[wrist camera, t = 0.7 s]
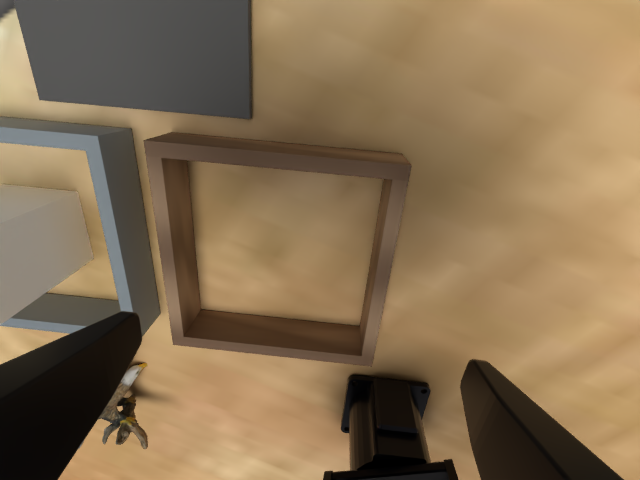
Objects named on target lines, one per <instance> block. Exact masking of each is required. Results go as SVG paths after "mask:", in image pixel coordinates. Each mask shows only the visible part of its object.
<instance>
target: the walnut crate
mask: <svg viewBox="0 0 640 480" xmlns="http://www.w3.org/2000/svg"><path fill="white" fill-rule="evenodd" d="M144 146H145V153H146V160H147V167H148V174H149V181H150V188H151V195H152V201H153V208H154V215H155V222H156V229H157V236H158V243H159V250H160V257H161V264H162V271H163V278H164V285H165V292H166V299H167V306H168V312H169V319H170V326H171V333H172V340H173V345H180V346H189V347H198V348H207V349H216V350H226V351H235V352H244V353H253V354H262V355H271V356H280V357H290V358H299V359H308V360H317V361H326V362H335V363H344V364H354V365H363V366H372V363H373V358H374V353H375V348H376V343H377V338H378V333H379V328H380V323H381V318H382V313H383V308H384V303H385V297H386V292H387V287H388V282H389V277H390V272H391V267H392V262H393V257H394V252H395V247H396V242H397V237H398V232H399V227H400V222H401V217H402V211H403V206H404V201H405V196H406V191H407V186H408V181H409V176H410V171H411V166H412V165H411V164H410V163H409V162H408V160H407V159H406V158H405V157H404V155H403V154H399V153H388V152H377V151H367V150H356V149H345V148H334V147H324V146H313V145H302V144H291V143H281V142H270V141H259V140H248V139H237V138H227V137H216V136H205V135H194V134H184V133H173V132H171V133H167V134H164V135H161V136H157V137H154V138H150V139H147V140H144ZM187 160H190V161H201V162H212V163H222V164H233V165H243V166H254V167H264V168H275V169H285V170H296V171H306V172H317V173H327V174H338V175H349V176H359V177H370V178H380V179H384V182H383V188H382V194H381V200H380V207H379V213H378V219H377V225H376V231H375V237H374V243H373V249H372V255H371V261H370V267H369V273H368V279H367V285H366V291H365V298H364V304H363V310H362V316H361V322H360V326H351V325H341V324H332V323H322V322H313V321H304V320H294V319H285V318H275V317H266V316H257V315H247V314H238V313H228V312H219V311H210V310H201V306H200V295H199V285H198V274H197V263H196V252H195V241H194V230H193V220H192V209H191V198H190V187H189V176H188V165H187Z"/></svg>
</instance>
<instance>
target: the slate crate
mask: <svg viewBox="0 0 640 480" xmlns="http://www.w3.org/2000/svg"><path fill="white" fill-rule="evenodd" d="M0 142H1V143H11V144H22V145H32V146H43V147H53V148H64V149H74V150H85V151H86V154H87V159H88V163H89V168H90V172H91V177H92V181H93V186H94V190H95V195H96V200H97V204H98V209H99V213H100V218H101V222H102V227H103V231H104V236H105V241H106V245H107V250H108V254H109V259H110V263H111V268H112V272H113V277H114V282H115V286H116V291H117V295H118V300H119V301H116V300H106V299H97V298H87V297H78V296H69V295H59V294H50V293H45V294H43V295H42V296H41V297H39V298H38V299H36V300H35V301H33V302H32V303H31V304H29V305H28V306H26V307H25V308H24V309H22V310H21V311H19V312H18V313H17V314H15V315H14V316H12V317H11V318H9V319H8V320H7V321H5V322H4V323H2V324H1V325H0V326H6V327H15V328H25V329H34V330H43V331H52V332H61V333H70V334H71V333H73V332H75V331H78V330H80V329H82V328H84V327H87V326H89V325H91V324H93V323H96V322H98V321H100V320H102V319H105V318H107V317H109V316H111V315H114V314H116V313H118V312H121V311H128V312H135V313H137V314H138V315H139V318H140V324H141V332H142V336H143V335H144V334H145V332H146V331H147V330H148V329H149V327H150V326H151V325H152V324H153V322H154V321H155V320H156V319H157V317H158V316H159V315H160V308H159V301H158V295H157V289H156V282H155V276H154V270H153V263H152V257H151V251H150V244H149V238H148V232H147V225H146V219H145V213H144V206H143V200H142V193H141V187H140V181H139V174H138V168H137V162H136V155H135V149H134V143H133V136H132V130H131V129H130V128H119V127H108V126H97V125H87V124H76V123H65V122H54V121H43V120H33V119H22V118H11V117H0Z"/></svg>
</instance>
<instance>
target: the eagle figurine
mask: <svg viewBox="0 0 640 480" xmlns="http://www.w3.org/2000/svg"><path fill="white" fill-rule="evenodd" d="M146 366H147V364H146V363H143V364H140V365H135V366H132V367H131V368H130V369H129V370H127V371H126V373H125V375H124V377H123V379H122V380H121V382H120V384H119V386H118V388H117V390H116V392H115V393H114V395H113V397H112V398H111V400H110V402H109V403H108V405H107V406H106V408H105V409H104V411H103V412H102V414H101V415H100V417H99V418H98V419H101V418H102V419H104V420H107V421H109V422H110V423H112V424H111V425H110V426H108V427H107V428H105V430H104V436H103V440H102V441H103V444H105V443H106V441H107V439H108V436H109V435H110V434H111V433H112V432H113V431H114V430H116V429H117V428H118V427H119V426H120V425H121V426H120V428H119V431H118V433H117V439H116V444H118V445H121V444H123V443H124V442H125V441H126V440H127V438H128V436H129V434H130V432H133V433H134V434H135V435H136V436H137V437H138V439H139V440H140V442H141V446H142V447H143V448H144V449H147V447H148V441H147V435H146V433H145V431H144V430H143V429H142V428H141V427H140V426H139V425H138V423H137V420H136V419H135V413H134V409H135V406H136V403H135V402H136V400H135V396H134V395H131V396H130V397H129V398H124V397H123V396H124V395H125V394H126V392H127V391H128V390H129V388H130V386H131V385H132V383H133V381H134V380H135V379H136V377H137V376H138V375H139V373H140V372H141V370H142V369H143V368H144V367H146ZM116 406H123V410H122V411H121V412H119V411H118V409H117V407H116ZM83 442H84V441H83ZM83 442H82V443H83ZM81 445H82V444H81ZM81 445H80V447H81ZM80 447H79V448H80ZM79 448H78V449H79Z"/></svg>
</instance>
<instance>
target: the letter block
mask: <svg viewBox="0 0 640 480" xmlns="http://www.w3.org/2000/svg"><path fill="white" fill-rule="evenodd" d="M93 259H94V256H93V252H92V248H91V244H90V240H89V236H88V232H87V227H86V223H85V219H84V215H83V211H82V207H81V203H80V199H79V194H78V191H69V190H58V189H48V188H38V187H28V186H18V185H7V184H2V185H0V325H1V324H2V323H4V322H5V321H7V320H8V319H9V318H11V317H12V316H14V315H15V314H17V313H18V312H19V311H21V310H22V309H24V308H25V307H26V306H28V305H29V304H31V303H32V302H33V301H35V300H36V299H38V298H39V297H41V296H42V295H43V294H45V293H46V292H48V291H49V290H50V289H52V288H53V287H55V286H56V285H57V284H59V283H60V282H62V281H63V280H65V279H66V278H67V277H69V276H70V275H72V274H73V273H74V272H76V271H77V270H79V269H80V268H81V267H83V266H84V265H86V264H87V263H89V262H90V261H91V260H93Z"/></svg>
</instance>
